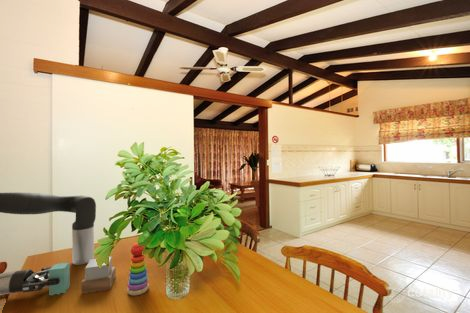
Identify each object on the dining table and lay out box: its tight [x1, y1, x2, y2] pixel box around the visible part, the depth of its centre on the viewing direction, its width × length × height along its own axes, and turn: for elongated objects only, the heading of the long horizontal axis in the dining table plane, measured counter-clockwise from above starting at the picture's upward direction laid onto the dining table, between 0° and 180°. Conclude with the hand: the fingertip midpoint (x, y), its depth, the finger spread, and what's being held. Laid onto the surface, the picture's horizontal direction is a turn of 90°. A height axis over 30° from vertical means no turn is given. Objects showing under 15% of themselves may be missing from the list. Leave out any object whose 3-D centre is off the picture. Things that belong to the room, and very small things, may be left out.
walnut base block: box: [80, 266, 117, 294], centre depth 95 cm, size 10×10×5 cm
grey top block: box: [84, 256, 112, 281], centre depth 95 cm, size 8×8×5 cm
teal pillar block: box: [48, 261, 71, 296], centre depth 91 cm, size 5×5×10 cm
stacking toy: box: [126, 242, 150, 296], centre depth 91 cm, size 8×8×19 cm
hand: (64, 275), depth 91 cm, fingers open, 8 cm apart
